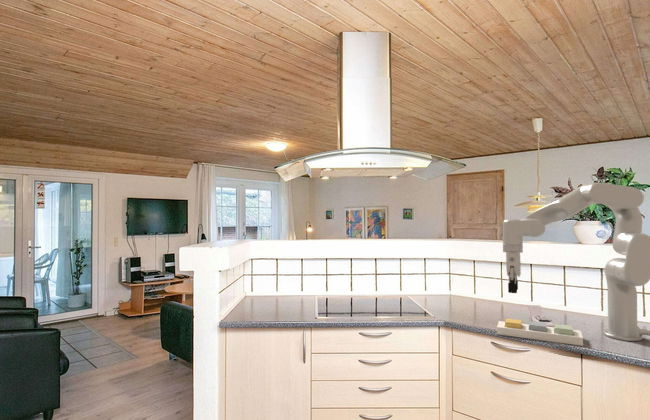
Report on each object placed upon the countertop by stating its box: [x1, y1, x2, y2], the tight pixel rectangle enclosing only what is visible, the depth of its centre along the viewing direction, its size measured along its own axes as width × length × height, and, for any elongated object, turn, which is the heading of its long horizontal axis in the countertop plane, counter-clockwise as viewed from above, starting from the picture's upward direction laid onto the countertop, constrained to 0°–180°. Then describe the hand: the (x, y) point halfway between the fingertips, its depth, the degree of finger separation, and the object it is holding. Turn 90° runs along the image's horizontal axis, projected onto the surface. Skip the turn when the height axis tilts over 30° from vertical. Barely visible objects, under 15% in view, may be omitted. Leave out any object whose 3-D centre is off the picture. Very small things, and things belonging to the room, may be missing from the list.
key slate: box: [529, 320, 547, 332], centre depth 159 cm, size 6×6×2 cm
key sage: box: [554, 323, 574, 335], centre depth 154 cm, size 6×6×2 cm
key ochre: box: [504, 317, 523, 329], centre depth 163 cm, size 6×6×2 cm
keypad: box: [496, 320, 584, 346], centre depth 159 cm, size 30×10×3 cm, turn 61°
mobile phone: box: [527, 304, 555, 328], centre depth 176 cm, size 6×6×25 cm
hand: (513, 290), depth 163 cm, fingers open, 6 cm apart
